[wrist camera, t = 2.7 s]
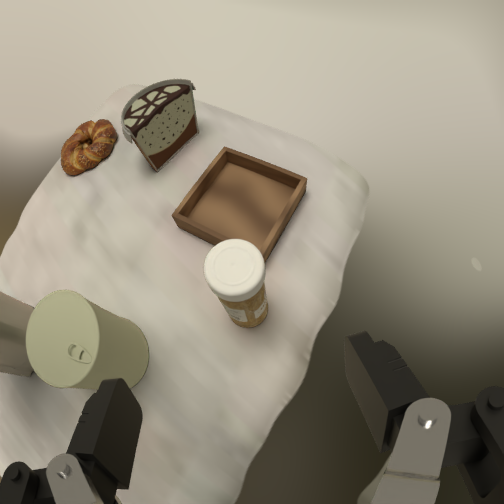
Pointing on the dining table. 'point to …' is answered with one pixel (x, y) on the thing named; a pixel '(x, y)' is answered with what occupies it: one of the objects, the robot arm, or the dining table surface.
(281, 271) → the dining table surface
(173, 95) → the food container
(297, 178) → the box
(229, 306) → the sprinkles bottle
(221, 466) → the dining table surface
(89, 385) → the can
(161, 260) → the dining table surface
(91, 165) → the pretzel
